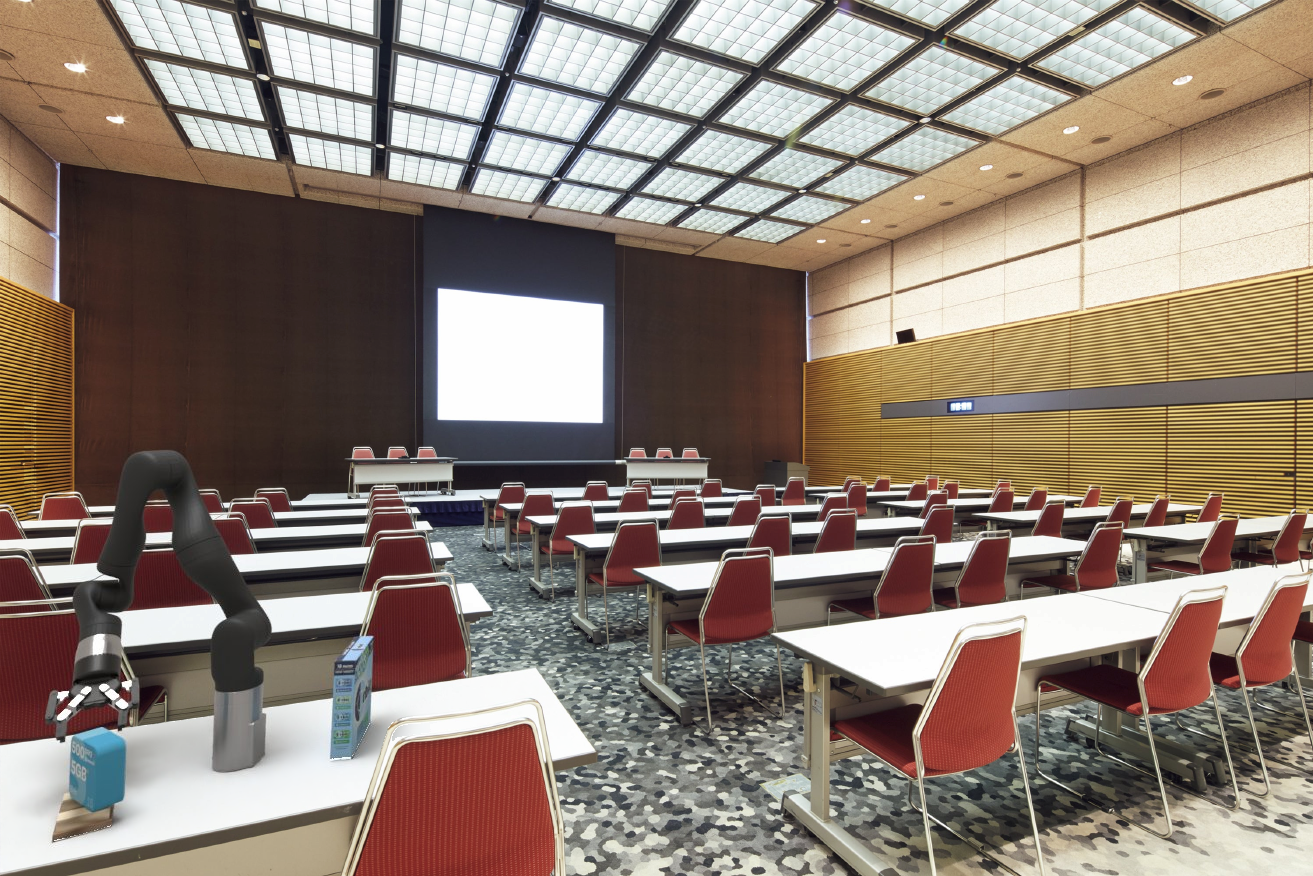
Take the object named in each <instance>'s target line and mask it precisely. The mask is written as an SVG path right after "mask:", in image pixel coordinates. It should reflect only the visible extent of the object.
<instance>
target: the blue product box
mask: <svg viewBox="0 0 1313 876" xmlns="http://www.w3.org/2000/svg"><path fill="white" fill-rule="evenodd" d="M374 639H375V638H374V635H366V636H365V635H364V636H363V635H362V636H354V637H353V639H352V640H351V641H350V642H349V644H348V645H347V646H346V647H345V649H343V651H341V653H340V655H339V656H338V657H337V658H336V659H335V660H334V662H333V663H334V666H333V667H334V668H333V686H332V687H333V688H332V689H333V690H332V707H331V709H332V710H331V711H332V712H331V730H330V752H329V753H330V755H329V760H330V759H332V758H333V759H334V758H342V757H352V755H353V754H354V752H355V750H356V748H357V746H358V744H359V743H360V744H361V742H362V741H361V739H362V737H363V735H364V733H365V731H366V729H367V727H368V725H369V723H370V724H371V716H372V714H371V713H372V687H373V662H374V661H373V659H374V658H373V657H374ZM369 726H370V725H369ZM368 728H369V727H368ZM367 730H368V729H367ZM366 732H367V731H366ZM365 734H366V733H365ZM364 736H365V735H364ZM363 738H364V737H363ZM362 740H363V739H362ZM360 741H361V742H360ZM360 744H359V745H360ZM358 747H359V746H358ZM357 749H358V748H357ZM356 751H357V750H356ZM355 753H356V752H355ZM354 755H355V754H354Z"/></svg>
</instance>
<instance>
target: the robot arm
mask: <svg viewBox="0 0 1313 876" xmlns="http://www.w3.org/2000/svg"><path fill="white" fill-rule="evenodd" d="M158 491H161V493H162V494H163V495H164V497H165V499H166V502H168V504H169V507H170V509H171V514H172V530H171V531H172V532H171V547H172V550H173V553H174V555H175V558H176V559H177V561H178V562H179V564H180V566H181V569H182V570H183V572H184V573H185V575H186V576H187V578H189V579H190V581H192V582H194V583H195V584H196V585H197V586H198V587H200V589H202V590H203V591H205V592H206V593H207V594H209V595H210V596H211V597H212V598H213V599H214V600H215V601H216V603H218V605H219V607H220V608H221V610H222V612H223V614H224V617H225V619H223V620H221V621H220V622H219V623H218V624H216V626H215V627H214V629H213V631H212V634H211V638H210V674H211V678H212V679H213V681H214V701H213V702H214V703H213V704H214V705H213V727H212V728H213V729H212V731H213V733H212V752H211V753H212V754H211V755H212V756H211V768H212V769H213V771H216V772H221V773H222V772H223V773H224V772H225V773H226V772H235V771H238V770H239V771H240V770H242V769H246V768H253V767H254V766H255V765H256V764H257V763H258V762H259V761H260V760H261V759H262V758H263V757H264V755H265V754H266V734H267V733H266V731H267V728H266V727H267V713H266V712H264V713H263V704H264V702H263V701H264V700H263V699H264V697H263V696H264V677H265V675H264V670H263V668H261V667H259V666H255V665H256V664H255V651H256V650H258V649H260V648H262V647H263V646H265V644H267V643H268V641H269V640H270V639H271V637H272V631H273V627H272V623H271V620H270V618H269V616H268V614H267V613H266V611H265V610H264V608H263V607H262V606H261V604H260V602H259V601H258V600H257V598H256V597H255V595H254V594H253V592H252V591H251V590H250V588H249V586H248V584H247V583H246V581H245V578H244V577H243V575H242V573H241V571H240V569H239V568H238V566H237V564H236V562H235V560H234V559H233V556H232V555H231V552H230V550H229V548H228V546H227V544H226V542H225V540H224V538H223V537H222V534H221V533H220V531H219V530H218V528H217V526H216V524H215V522H214V520H213V518H212V516H211V514H210V512H209V510H208V508H207V506H206V504H205V502H204V500H203V498H202V494H201V493H200V490H199V487H198V485H197V482H196V479H195V477H194V473H193V471H192V468H191V466H190V464H189V462H188V461H187V459H186V458H185V457H184V456H183V455H182V454H181V453H180V452H179V451H178V452H177V451H176V450H170V449H163V450H161V449H159V450H156V449H155V450H143V451H138V452H135V453H133V454H131V455H130V456H129V457H128V458H127V459H126V460H125V463H124V464H123V467H122V471H121V475H120V479H119V485H118V490H117V496H116V501H115V506H114V511H113V517H112V522H111V526H110V529H109V532H108V534H107V538H106V541H105V542H104V545H103V548H102V551H101V553H100V555H99V557H98V560H97V563H96V570H97V571H98V573H100V574H101V575H104V576H107V577H111V578H115V579H117V580H118V581H113V580H112V581H110V580H95V579H94V580H93V579H90V580H86V581H83V582H81V583H79V585H77V586H76V588H75V589H74V592H73V595H72V607H73V610H74V613H75V615H76V617H77V618H76V619H77V621H78V625H79V635H78V644H77V649H76V652H75V657H74V663H73V664H74V667H73V674H72V675H73V676H72V684H71V688H70V689H69V690H68V691H61V692H59V691H58V690H52V691H51V692H50V694H49V697H48V701H47V706H46V709H45V710H46V711H45V716H44V719H45V724H46V725H48V726H50V725H55V726H56V729H55V740H56V742H57V741H59V743H60V744H63V743H66V737H67V736H66V735H67V728H68V722H69V721H70V719H72V717H75V716H76V715H77V714H78V713H80V711H81V710H84V711H88V710H92V709H94V708H104V707H106V706H107V705H109V706H110V707H111V708H112V709H115V710H116V711H117V712H118V715H117V717H118V718H117V733H118V732H122V731H123V728H124V729H125V728H126V727H127V725H128V713H129V712H130V711H132V710H137V709H138V708H139V707H140V686H139V683H140V681H139V677H133V678H131V679H130V680H129V681H123V682H122V680H121V670H122V669H121V668H122V659H123V655H122V652H123V647H122V646H123V645H122V633H123V632H122V631H123V630H122V629H123V622H122V619H121V617H120V616H118V615H116V614H119V613H122V612H125V611H126V610H127V609H129V608H130V606H132V603H133V601H134V596H135V592H134V591H135V575H136V574H135V573H136V570H137V568H138V567H137V566H138V563H139V561H140V559H141V556H142V554H143V551H144V548H145V547H146V542H147V530H146V525H145V519H144V516H145V515H144V514H145V509H146V506H147V504H148V502H149V499H150V498H151V496H152V494H153V492H158ZM123 689H124V690H126V692H127V693H130V694H131V700H130V701H128V702H127V701H126V700H124V699H123V698H122V697H121V696H120V695H119V693H121V691H122V690H123ZM66 699H68V700H69V701H70V703H68V705H66V707H65V709H64V710H63V711H62V712H61V713H59V714H57V710H58V706H59V705H60V704H63V702H64V700H66ZM261 757H262V758H261ZM252 766H253V767H252Z"/></svg>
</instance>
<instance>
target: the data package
mask: <svg viewBox="0 0 1313 876" xmlns="http://www.w3.org/2000/svg"><path fill="white" fill-rule="evenodd" d="M69 756H70V757H69V775H68V776H69V777H68V779H69V781H68V793H70V796H71V797H72V798H73V799H74V800H76V801H77V802H79V803H80V804H81V805H83V806H84V807H86V808H87V809H89V810H90V811H92V812H95V811H97V810H100V809H103V808H105V807H108V806H110V805H113V804H114V805H115V804H118V803H121V802H122V801H124V799H125V796H126V795H125V794H126V792H125V791H126V770H127V769H126V768H127V766H126V765H127V741H126V739H125V738H124V737H122V736H121V735H118V734H116V733H115V732H113V731H111V730H109V729H107V728H106V727H102V726H101V727H96V728H93V729H91V730H86V731H83V732H80V733H76V734H74V735H73V736H72V737H71V740H70V755H69Z"/></svg>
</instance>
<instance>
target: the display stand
mask: <svg viewBox="0 0 1313 876" xmlns="http://www.w3.org/2000/svg"><path fill="white" fill-rule="evenodd" d="M114 809H115V804H113V805H110V806H108V807H105V808H103V809H100V810H97V811H95V812H92V811H90V810H89V809H87V808H86V807H84V806H83V805H81V804H80V803H79V802H77V801H76V800H74V799H73V798H72V797H71V796H70V793H69V792H65V793H64V794H63V798H62V802H61V804H60V808H59V811H58V814H57V819H56V822H55V825H54V828H53V829H54V830H53V831H52V832H53V833H52V834H51V835H52V837H51V838H52V840H51V842H52V841H54V840H57V839H62V838H67V837H70V836H74V835H78V836H80V835H79V834H82V835H84V834H83V833H86V832H89V833H91V832H90V831H93V832H95V831H94V830H97V829H101V828H104V827H107V826H110V825H111V824H113V818H114V811H113V810H114ZM112 817H113V818H112ZM111 826H112V825H111ZM104 829H105V828H104ZM101 830H102V829H101ZM97 831H98V830H97ZM86 834H87V833H86ZM74 837H75V836H74ZM70 838H71V837H70ZM67 839H68V838H67Z"/></svg>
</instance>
